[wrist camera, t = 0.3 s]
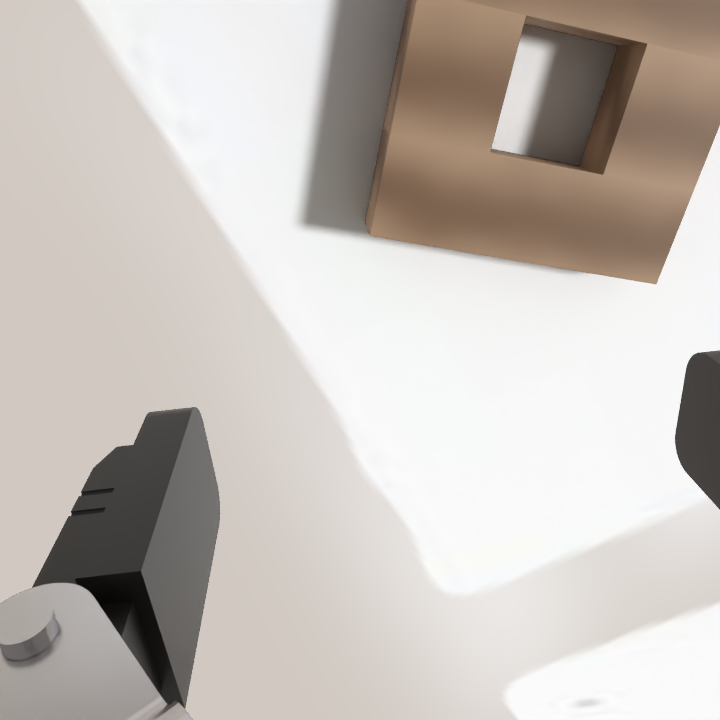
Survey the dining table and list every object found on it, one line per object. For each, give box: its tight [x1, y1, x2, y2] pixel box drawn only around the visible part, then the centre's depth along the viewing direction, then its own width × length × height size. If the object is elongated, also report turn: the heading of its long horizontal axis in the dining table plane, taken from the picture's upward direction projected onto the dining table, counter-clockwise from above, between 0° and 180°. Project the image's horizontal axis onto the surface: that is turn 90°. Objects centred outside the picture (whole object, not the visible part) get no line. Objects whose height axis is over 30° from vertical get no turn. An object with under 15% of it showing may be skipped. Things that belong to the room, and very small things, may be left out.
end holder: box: [365, 0, 720, 284], centre depth 31 cm, size 16×16×3 cm
